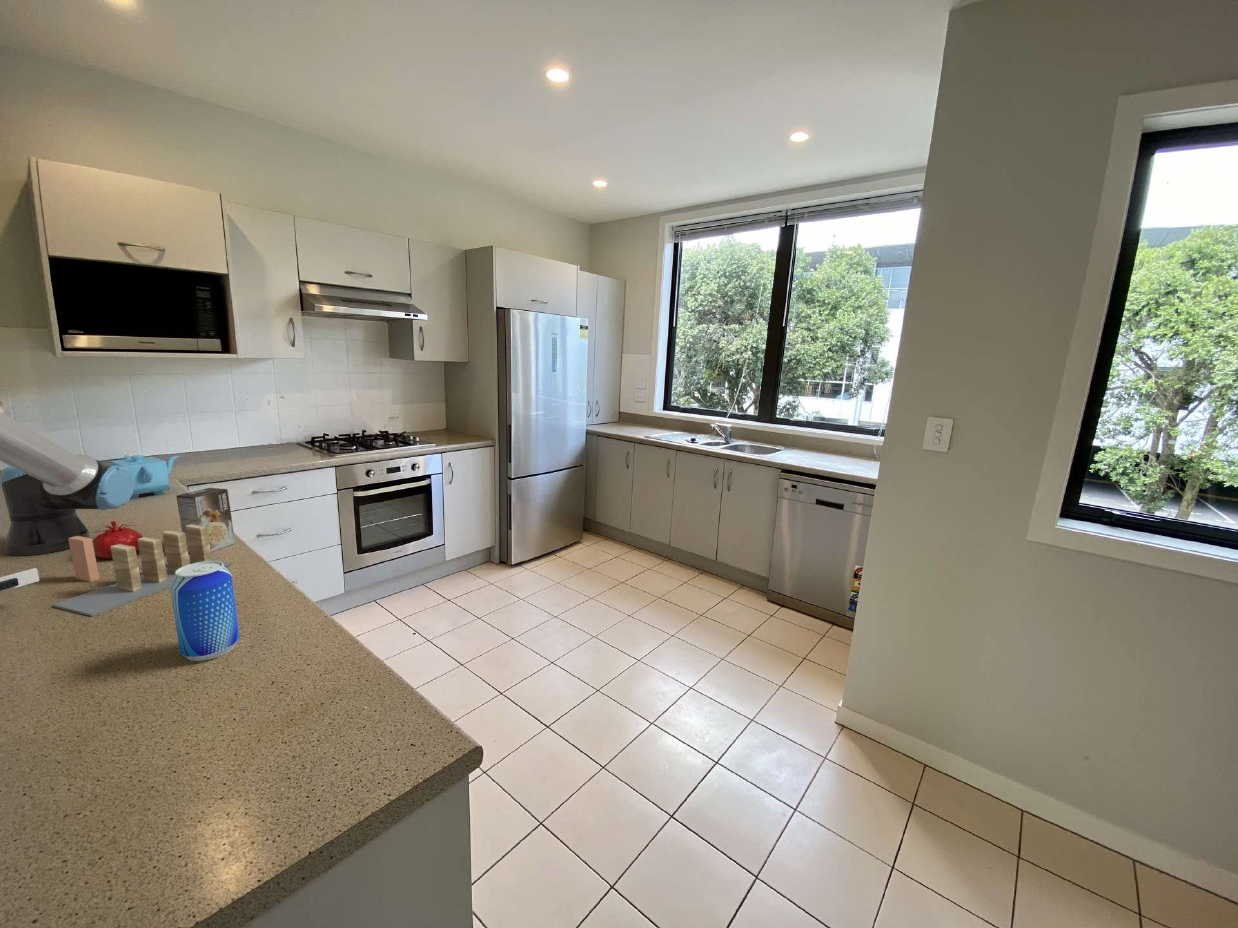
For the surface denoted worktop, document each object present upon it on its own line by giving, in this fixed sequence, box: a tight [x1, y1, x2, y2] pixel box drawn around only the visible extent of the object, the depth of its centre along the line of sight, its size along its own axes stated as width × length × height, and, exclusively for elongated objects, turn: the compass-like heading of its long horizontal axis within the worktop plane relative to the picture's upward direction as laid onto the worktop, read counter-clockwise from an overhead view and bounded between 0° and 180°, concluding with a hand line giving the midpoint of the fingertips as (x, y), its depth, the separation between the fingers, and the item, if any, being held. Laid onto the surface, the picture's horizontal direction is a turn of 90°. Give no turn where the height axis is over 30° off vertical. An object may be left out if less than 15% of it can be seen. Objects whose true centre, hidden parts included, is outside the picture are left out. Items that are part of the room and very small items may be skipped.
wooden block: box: [185, 524, 212, 564], centre depth 125 cm, size 2×5×10 cm, turn 74°
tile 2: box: [110, 544, 142, 592], centre depth 110 cm, size 2×5×10 cm, turn 74°
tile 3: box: [138, 536, 167, 583], centre depth 115 cm, size 2×5×10 cm, turn 74°
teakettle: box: [109, 454, 181, 500], centre depth 184 cm, size 19×19×15 cm
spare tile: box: [68, 536, 100, 583], centre depth 116 cm, size 2×5×10 cm, turn 74°
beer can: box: [169, 560, 241, 662], centre depth 89 cm, size 8×8×16 cm
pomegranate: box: [92, 520, 144, 560], centre depth 130 cm, size 10×10×9 cm
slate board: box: [51, 558, 233, 617], centre depth 115 cm, size 12×28×1 cm, turn 164°
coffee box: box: [175, 487, 236, 554], centre depth 136 cm, size 9×6×16 cm
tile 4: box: [161, 529, 190, 573], centre depth 120 cm, size 2×5×10 cm, turn 74°
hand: (16, 569), depth 105 cm, fingers open, 13 cm apart
